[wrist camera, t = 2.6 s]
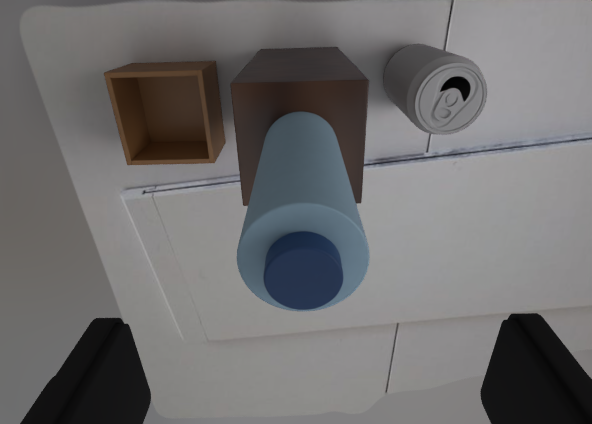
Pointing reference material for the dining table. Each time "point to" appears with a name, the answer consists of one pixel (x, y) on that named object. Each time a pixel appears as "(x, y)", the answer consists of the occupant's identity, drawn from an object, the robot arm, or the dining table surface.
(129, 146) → the open wooden box
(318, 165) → the bottle
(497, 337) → the robot arm
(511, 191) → the dining table surface
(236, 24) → the dining table surface
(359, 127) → the plinth
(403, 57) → the beverage can
